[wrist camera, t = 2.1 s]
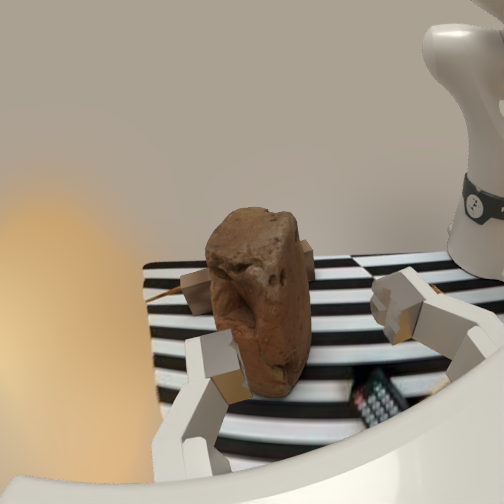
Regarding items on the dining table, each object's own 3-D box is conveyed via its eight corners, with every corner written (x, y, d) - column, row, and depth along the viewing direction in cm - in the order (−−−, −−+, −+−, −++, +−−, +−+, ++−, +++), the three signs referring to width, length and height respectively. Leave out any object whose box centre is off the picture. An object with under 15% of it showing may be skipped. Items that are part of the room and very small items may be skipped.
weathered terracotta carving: (264, 328, 41) (231, 199, 30) (317, 336, 38) (305, 199, 27) (235, 394, 33) (174, 269, 22) (295, 408, 30) (269, 280, 19)
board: (308, 268, 50) (305, 239, 46) (315, 279, 47) (312, 249, 44) (192, 303, 48) (180, 276, 45) (193, 316, 46) (180, 288, 42)
